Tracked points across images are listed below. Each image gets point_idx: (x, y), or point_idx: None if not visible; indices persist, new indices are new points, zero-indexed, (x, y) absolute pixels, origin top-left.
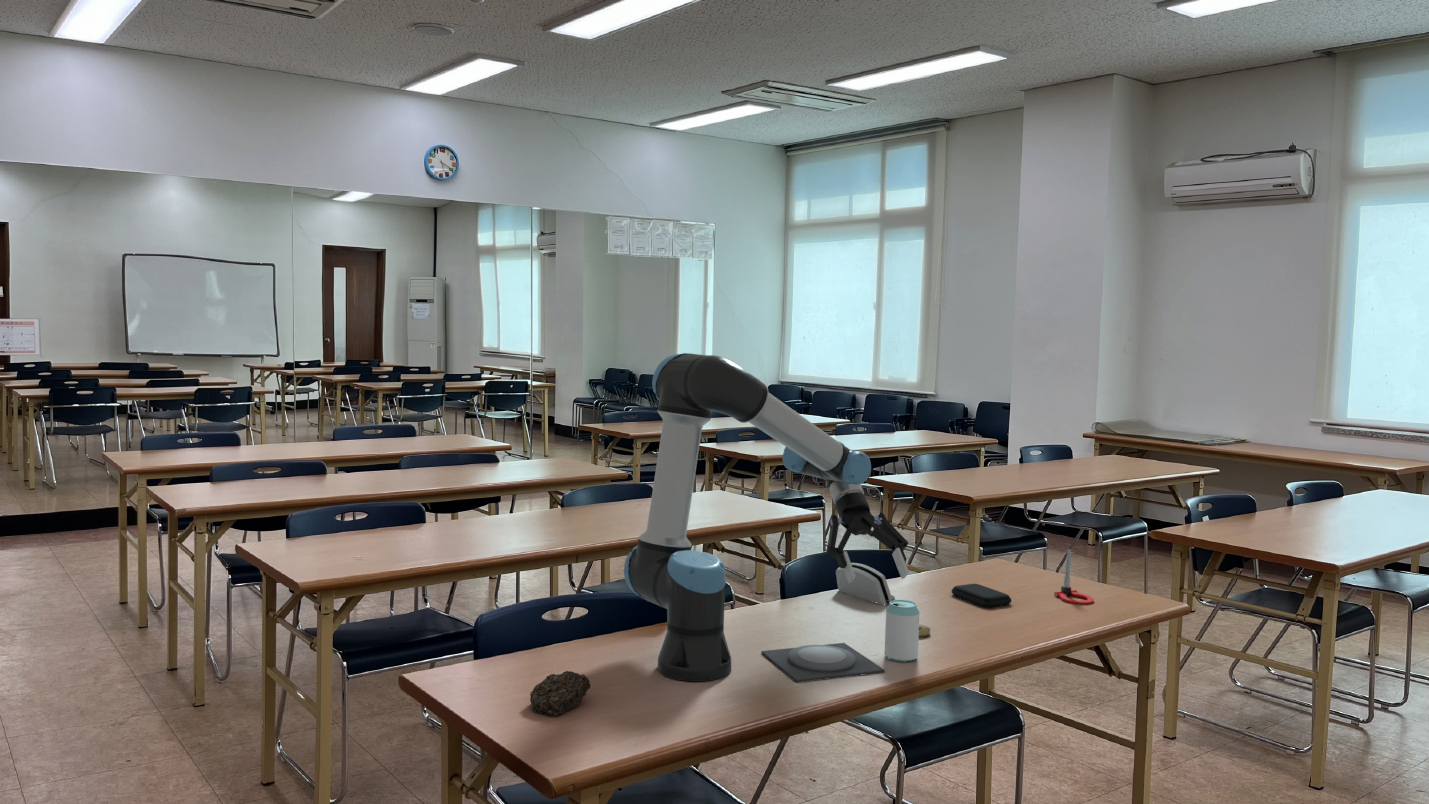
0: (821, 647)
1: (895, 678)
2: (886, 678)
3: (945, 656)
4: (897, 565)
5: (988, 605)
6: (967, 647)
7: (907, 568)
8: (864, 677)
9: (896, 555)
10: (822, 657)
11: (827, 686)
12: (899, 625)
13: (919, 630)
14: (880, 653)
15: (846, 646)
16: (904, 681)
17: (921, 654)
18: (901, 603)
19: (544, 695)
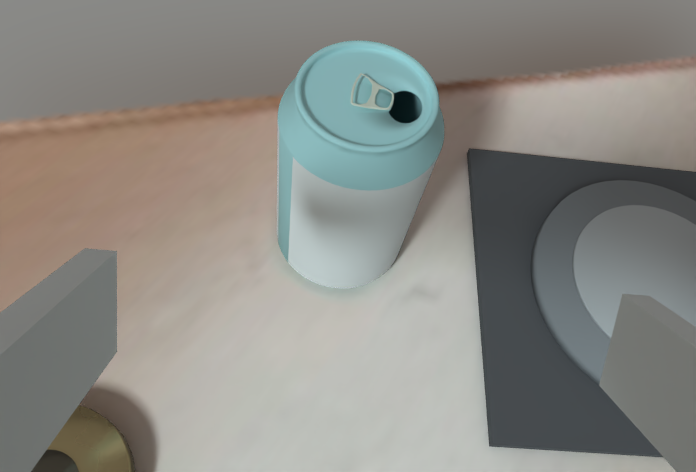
0: None
1: (458, 109)
2: (484, 117)
3: (172, 190)
4: (63, 407)
5: None
6: (3, 234)
7: (69, 262)
8: (545, 144)
9: (8, 415)
10: (667, 253)
11: (673, 132)
12: (405, 111)
13: (54, 440)
14: (388, 300)
15: (502, 394)
16: (444, 85)
17: (242, 236)
18: (371, 101)
19: None
